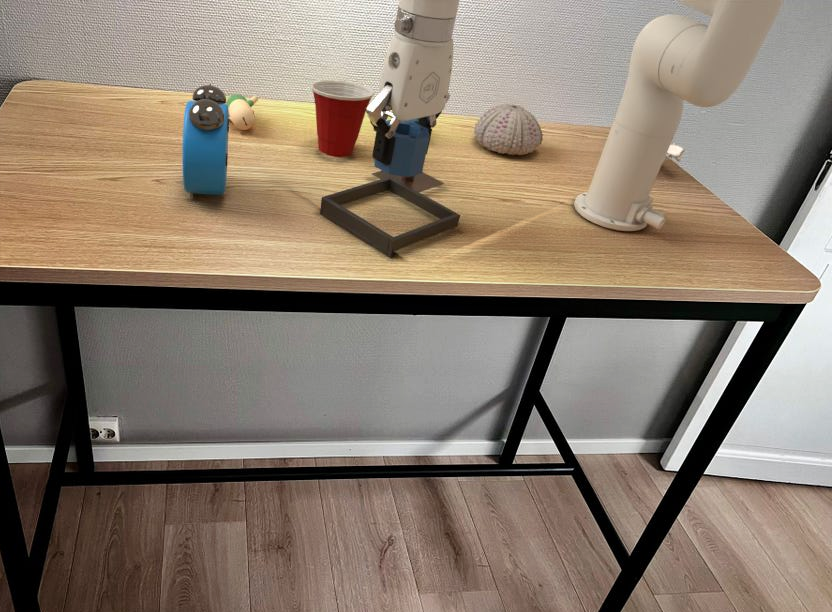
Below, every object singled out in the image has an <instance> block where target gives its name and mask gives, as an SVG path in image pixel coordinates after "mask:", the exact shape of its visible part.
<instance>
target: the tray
mask: <svg viewBox="0 0 832 612" xmlns="http://www.w3.org/2000/svg"><path fill="white" fill-rule="evenodd" d="M386 191H389V192H391V193H393V194H395V195H397V196H398V197H400V198H401V199H404V200H405V201H407V202H409V203H411V204H412V205H414V206H416V207H418V208H420V209H422V210H423V211H425V212H427V213H429V214H430V215H432V216H434V217H436V218H438V219H437V220H434V221H432V222H430V223H427V224H423V225H422V226H420V227H416V228H413V229H411V230H409V231H406V232H403V233H401V234H400V233H399V234H398V235H395V236H392V235H391V234H390V233H387V232H386V231H384V230H383V229H381V228H379V227H378V226H376V225H374V224H373V223H371V222H370V221H367V220H366V219H364V218H362V217H361V216H359V215H358V214H357V213H354V212H353V211H351V210H349V209H347V208H346V207H344V205H345V204H348V203H351V202H355V201H357V200H358V201H359V200H360V199H364V198H367V197H370V196H373V195H376V194H380V193H383V192H386ZM320 201H321V202H320V207H319V208H320V210H319V214H320V215H321V216H323V217H324V218H326V219H328V220H329V221H331V222H332V223H334V224H335V225H337V226H339V227H340V228H342V229H343V230H344V231H347V232H348V233H350V234H352V236H355V237H356V238H358V239H359V240H361V241H363V242H364V243H366V244H367V245H369V246H371V247H372V248H374V249H375V250H377V251H379V252H380V253H382V254H383V255H385V256H387V257H388V258H393V257H397V256H399V255H400V254H399V253H398V252H397V251H398V250H401V249H404V248H406V247H409V246H411V245H414V244H416V243H418V242H421V241H423V240H426V239H428V238H432V237H433V236H435V235H439V234H441V233H443V232H446V231H449V230H451V229H454V228H456V227H458V226H459V223H460V219H461V214H460V213H458V212H456V211H454V210H452V209H450V208H448V207H447V206H445V205H443V204H441V203H439V202H437V201H436V200H434V199H432V198H431V197H428V196H427V195H425V194H423V193H422V192H417V191H415V190H414V189H412V188H410V187H408V186H406V185H405V184H403V183H401V182H399V181H397V180H395V179H394V178H392V177H387V178H383V179H377V180H374V181H369V182H368V183H364V184H361V185H357V186H354V187H350V188H347V189H344V190H341V191H337V192H333V193H331V194H328V195H324V196H322V197H321V200H320ZM342 205H343V206H342Z"/></svg>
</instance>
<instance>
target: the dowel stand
mask: <svg viewBox="0 0 832 612" xmlns="http://www.w3.org/2000/svg"><path fill="white" fill-rule="evenodd" d="M371 175H372V176H374V177H376V178H377V179H378V180H380V179H383V178H387V177H392V178H394V179H395V180H397V181H399V182H401V183H403V184H405V185H406V186H408V187H410V188H412V189H414V190H415V191H417V192H419V193H422V192H425V191H428V190H430V189H433V188H436V187H440V186H442V185H445V182H443V181H441V180H439V179H437V178H435V177H433V176H431V175H429V174H428V173H426V172H424V171H422V173H421V174H418V175H414V176H411V177H404V176H397V175H390V174H387V173H385V172H384V171H382V170H379V171H376V172H371Z"/></svg>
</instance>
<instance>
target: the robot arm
mask: <svg viewBox="0 0 832 612" xmlns="http://www.w3.org/2000/svg"><path fill="white" fill-rule="evenodd" d="M784 1H785V0H679V2H680V3H682V4H683V5H685V6H687V7H688V8H691V9H693V10H696V11H698V12H701V13H702V14H705V15H707V16H709V17H711V19H710V22H709V24H708V25H707V24H705V23H702V22H700V21H697V20H695V19H694V18H691V17H689V16H685V15H682V14H675V13H670V14H669V13H668V14H664V15H660V16H657V17H655V18H654V19H652V20H651V21H649V22H648V23H647V24H646V25H645V26H644V27H643V28H642V30H641V31H640V32H639V34H638V35H637V37H636V39H635V41H634V43H633V47H632V51H631V54H630V61H629V67H628V73H627V78H626V83H625V87H624V91H623V94H622V96H621V100H620V103H619V105H618V108H617V111H616V114H615V116H614V119H613V121H612V124H611V126H610V130H609V133H608V136H607V138H606V141H605V143H604V147H603V149H602V152H601V155H600V158H599V160H598V163H597V166H596V169H595V171H594V173H593V177H592V180H591V183H590V185H589V188H588V190H587V191H585V192H581V193H580V194H578V195H577V196H576V197H575V200H574V203H573V206H574V209H575V211H576V212H577V213H578V214H579V215H580V216H581V217H583V218H584V219H585V220H587V221H589V222H591V223H593V224H595V225H598V226H600V227H602V228H607V229H609V230H613V231H620V232H636V231H640V230H643V229H644V228H646V227H647V226H648V225H649V226H651V227H653V228H655V229H657V230H661V229H662V228H663V226H664V224H665V223H666V218H665V212H662V211H661V210H658V209H656V208H654V207H653V205H652V203H653V201H654V199H655V198H654V197H652V196H650V193H651V192H652V189H653V187H654V184H655V182H656V179H657V178H658V175H659V172H660V170H661V168H662V166H663V164H664V162H665V160H664V158H665V159H666V156H667V154H668V153H667V151H668V149H669V146H670V144H671V145H672V143H673V142H672V141H673V139H674V136H675V135H676V133H677V130H678V129H679V125H680V123H681V119H682V115H683V111H684V101H685V102H687V103H689V104H692V105H694V106H696V107H700V108H712V107H717V106H719V105H720V104H722V103H724V102H725V101H727V100H728V99H729V98H730V97H731V96H732V95H733V94H734V93H735V92H736V91H737V90H738V89H739V88H740V86H741V84H742V83H743V81H744V80H745V78H746V76H747V75H748V73H749V71H750V69H751V67H752V66H753V63H754V61H755V59H756V57H757V56H758V54H759V51H760V49H761V48H762V45H763V43H764V41H765V40H766V38H767V36H768V34H769V32H770V30H771V28H772V26H773V24H774V22H775V20H776V18H777V16H778V14H779V12H780V10H781V8H782V5H783V3H784ZM459 4H460V0H398V7H397V10H396V11H397V12H396V18H395V21H394V24H393V25H394V31H393V34H392V36H391V38H390V42H389V45H388V47H387V51H386V54H385V58H384V62H383V66H382V69H381V75H380V79H379V83H378V84H379V85H378V90H377V95H376V96H375V98H374V99H373V100H372V101H371V102H370V103H369V104H368V107H367V109H366V112H365V114H366V115H367V117H368V119H369V122H370V125H371V126H372V127H373V129H372V130H373V131H374V132H375V136H374V143H373V149H372V155H371V156H372V158H373V160H374V159H375V160H377V161H379V162H381V163H383V164H385V165H390V164H391V161H392V156H393V150H394V145H395V138H394V137H392V136H393V134H394V132H395V130H396V128H397V126H398V124H399V122H400V121H409V120H414V119H417V121H418V122H417V121H414V122H415V123H417V124H419V125H421V126H423V127H425V128H427V129H428V131H429V136H430V138H429V142H428V147H427V152H426V155H428V151H429V146H430V142H431V138H432V137H431V136H432V132H433V129H434V128H435V127H436V125H437V119H438V118H439V117H440V115H441V114H442V112H443V111H444V109H445V107H446V104H447V103H448V102H449V100H450V98H451V94H450V93H449V90H450V84H451V76H452V70H453V61H454V39H453V38H452V37H453V33H454V27H455V23H456V19H457V14H458V10H459V9H458V8H459ZM388 118H391V119H390V120H391V122H390V124H389V126H388V125H387V123H386V121H388Z"/></svg>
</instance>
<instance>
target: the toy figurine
mask: <svg viewBox="0 0 832 612" xmlns="http://www.w3.org/2000/svg"><path fill="white" fill-rule="evenodd" d="M258 101H259V97H258V96H257V95H252V97H250V98H249V100H248V99H247V98H246V97H245V96H244V95H242V94H240V93H236V94H232V95H231V96H229V97H228V98H227V99H226V103H225V104H226V105H228V109H229V121H230V122H231V124H232V125H233V126H234V127H235V128H237V129H238V130H242V131H245V130H246V131H247V130H249V129H251V128H252V127H253V126H254V123H255V119H256V116H255V115H256V114H255V112H254V109H253V107H254V105H255V104H256V103H257V102H258Z"/></svg>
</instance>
